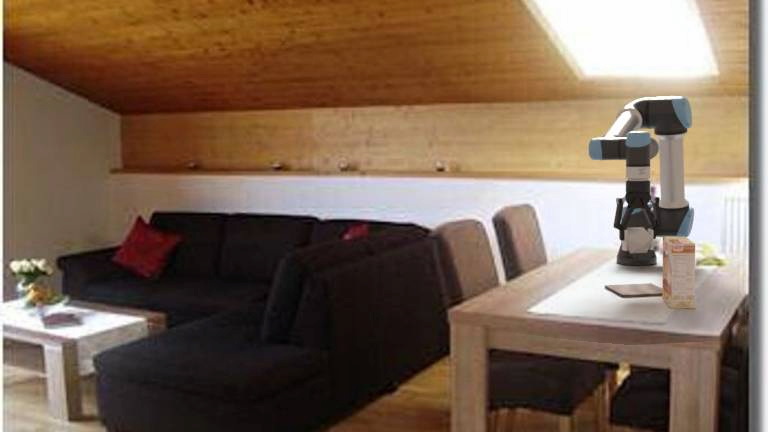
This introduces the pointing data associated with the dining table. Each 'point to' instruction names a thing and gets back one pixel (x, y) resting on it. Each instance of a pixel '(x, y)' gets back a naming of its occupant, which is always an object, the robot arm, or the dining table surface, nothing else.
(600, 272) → the dining table surface
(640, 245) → the die
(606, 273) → the dining table surface
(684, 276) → the coffeecake box
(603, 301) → the dining table surface
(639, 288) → the walnut board
